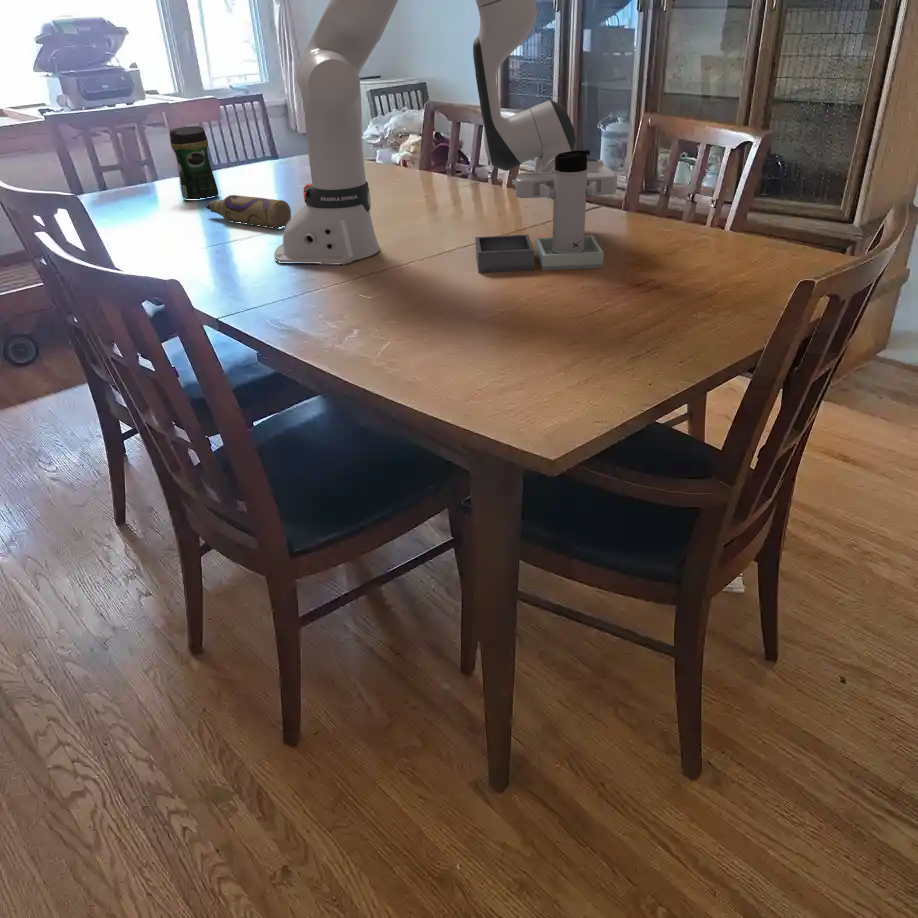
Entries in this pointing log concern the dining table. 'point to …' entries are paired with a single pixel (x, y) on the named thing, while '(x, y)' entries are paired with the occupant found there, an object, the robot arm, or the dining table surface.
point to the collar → (504, 253)
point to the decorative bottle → (252, 210)
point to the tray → (569, 256)
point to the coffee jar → (193, 162)
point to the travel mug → (569, 202)
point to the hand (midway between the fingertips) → (570, 193)
